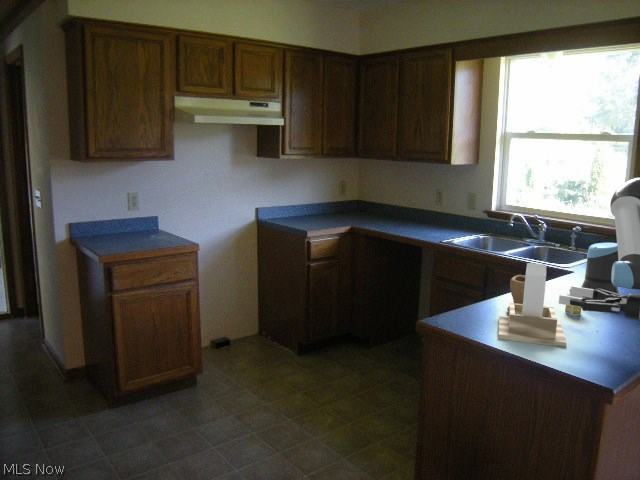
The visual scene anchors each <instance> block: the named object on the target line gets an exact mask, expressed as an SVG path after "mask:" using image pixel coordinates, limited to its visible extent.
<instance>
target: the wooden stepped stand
mask: <svg viewBox="0 0 640 480" xmlns="http://www.w3.org/2000/svg"><path fill="white" fill-rule="evenodd" d="M508 307H509V312H508V316H505V315H504V316H503V315H499V317H498V338H497V339H498V340H505V341H513V342H522V343H529V344H535V345H536V344H538V345H544V346H545V345H547V346H552V345H553V346H554V347H559V348H560V347H561V348H567V339H566V336H565V332H564V330H563V326H562V323H561V322H558V318H557V315H556V314H557V313H556V311H555V308H554V306H553V307H552V306H546V305H545V306H544V305H543V314H542V317H538V316H529V315H522V310H523V304H516V303H514V302H509V306H508Z"/></svg>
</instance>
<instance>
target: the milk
mask: <svg viewBox="0 0 640 480" xmlns="http://www.w3.org/2000/svg"><path fill="white" fill-rule="evenodd" d="M525 275H526V276H525V287H524V298H523V310H522V315H529V316H538V317H542V314H543V306H544V301H545V292H546V282H547V281H546V280H547V264H543V263H531V262H527V263H526V270H525Z"/></svg>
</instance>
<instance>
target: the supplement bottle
mask: <svg viewBox="0 0 640 480" xmlns="http://www.w3.org/2000/svg"><path fill="white" fill-rule="evenodd" d="M566 296H571V297H577V298H583V296H577V295H572V294H571V287H569V292H568V293H567V295H566ZM564 309H565V310H564V312H565V314H567V315H569V316H573V317H574V316H576V317H577V316H580V315H581V314H582V308H580V307H575V306H569V305H565V308H564Z"/></svg>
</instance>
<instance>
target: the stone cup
mask: <svg viewBox="0 0 640 480" xmlns="http://www.w3.org/2000/svg"><path fill="white" fill-rule="evenodd" d="M525 276H526V274H525V275H524V274H517V275H515V276H513V277H512V278H510V281H509V282H510V283H509V289H510V290H509V291H510V293H511V297H512V303H516V304H523V298H524V287H525ZM506 310H507V313H509V306H508V307H507V309H506Z"/></svg>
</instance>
